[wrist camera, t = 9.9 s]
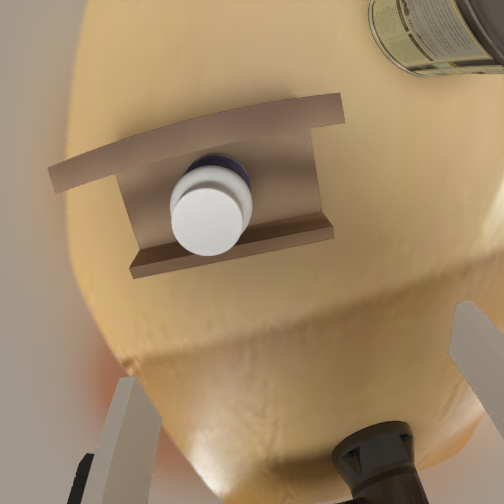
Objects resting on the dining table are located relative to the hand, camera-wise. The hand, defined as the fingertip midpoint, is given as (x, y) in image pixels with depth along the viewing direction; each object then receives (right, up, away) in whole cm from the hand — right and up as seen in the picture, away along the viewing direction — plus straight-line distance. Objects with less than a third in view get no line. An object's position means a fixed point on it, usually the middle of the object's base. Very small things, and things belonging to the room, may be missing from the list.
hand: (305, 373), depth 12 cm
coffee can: (+13, +26, +10) cm, 31 cm away
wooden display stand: (-5, +11, +16) cm, 20 cm away
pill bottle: (-5, +10, +14) cm, 18 cm away
